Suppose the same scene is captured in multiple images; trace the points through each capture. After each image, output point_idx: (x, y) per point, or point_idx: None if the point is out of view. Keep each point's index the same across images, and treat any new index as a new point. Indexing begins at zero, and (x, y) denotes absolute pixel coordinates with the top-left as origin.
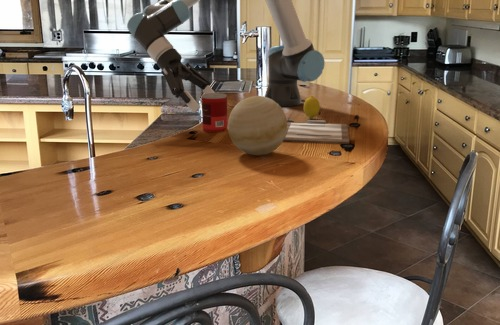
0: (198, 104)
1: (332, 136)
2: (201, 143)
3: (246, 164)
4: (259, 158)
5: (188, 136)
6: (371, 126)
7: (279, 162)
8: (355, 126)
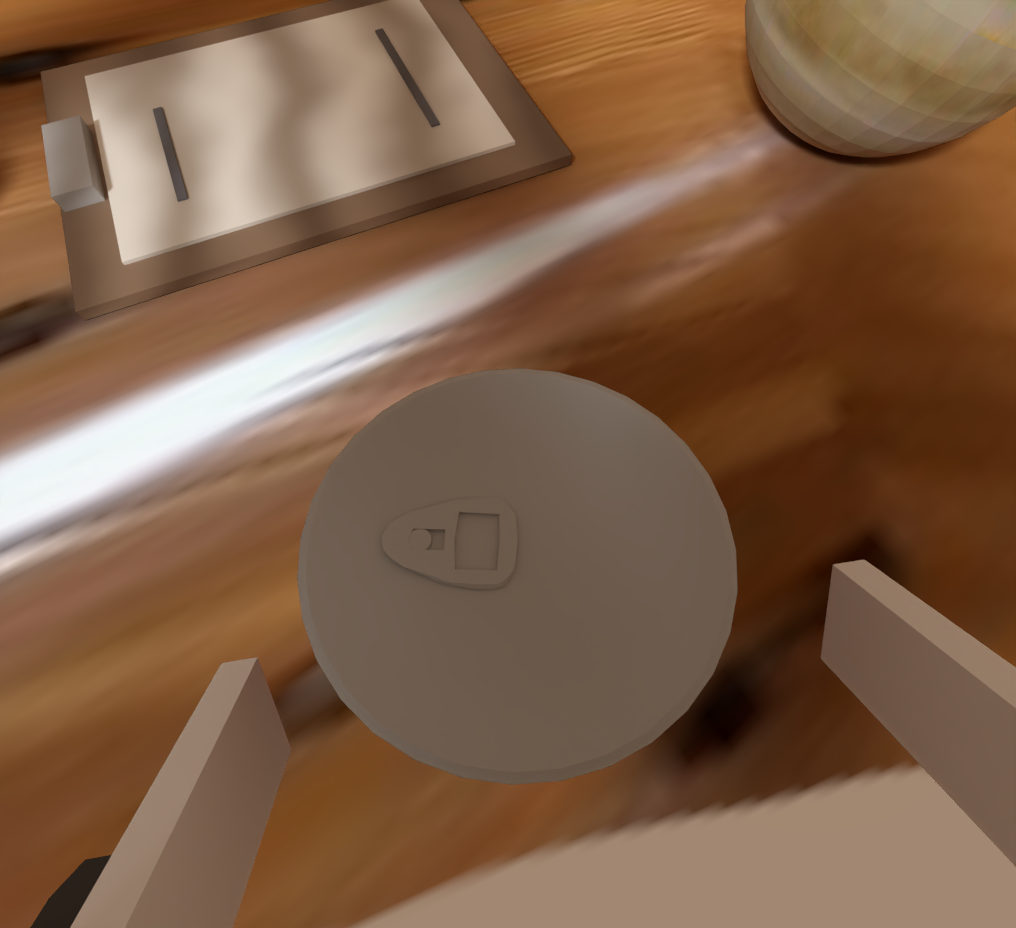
0: (866, 586)
1: (387, 25)
2: (903, 431)
3: None
4: None
5: None
6: (38, 17)
7: None
8: (58, 56)
